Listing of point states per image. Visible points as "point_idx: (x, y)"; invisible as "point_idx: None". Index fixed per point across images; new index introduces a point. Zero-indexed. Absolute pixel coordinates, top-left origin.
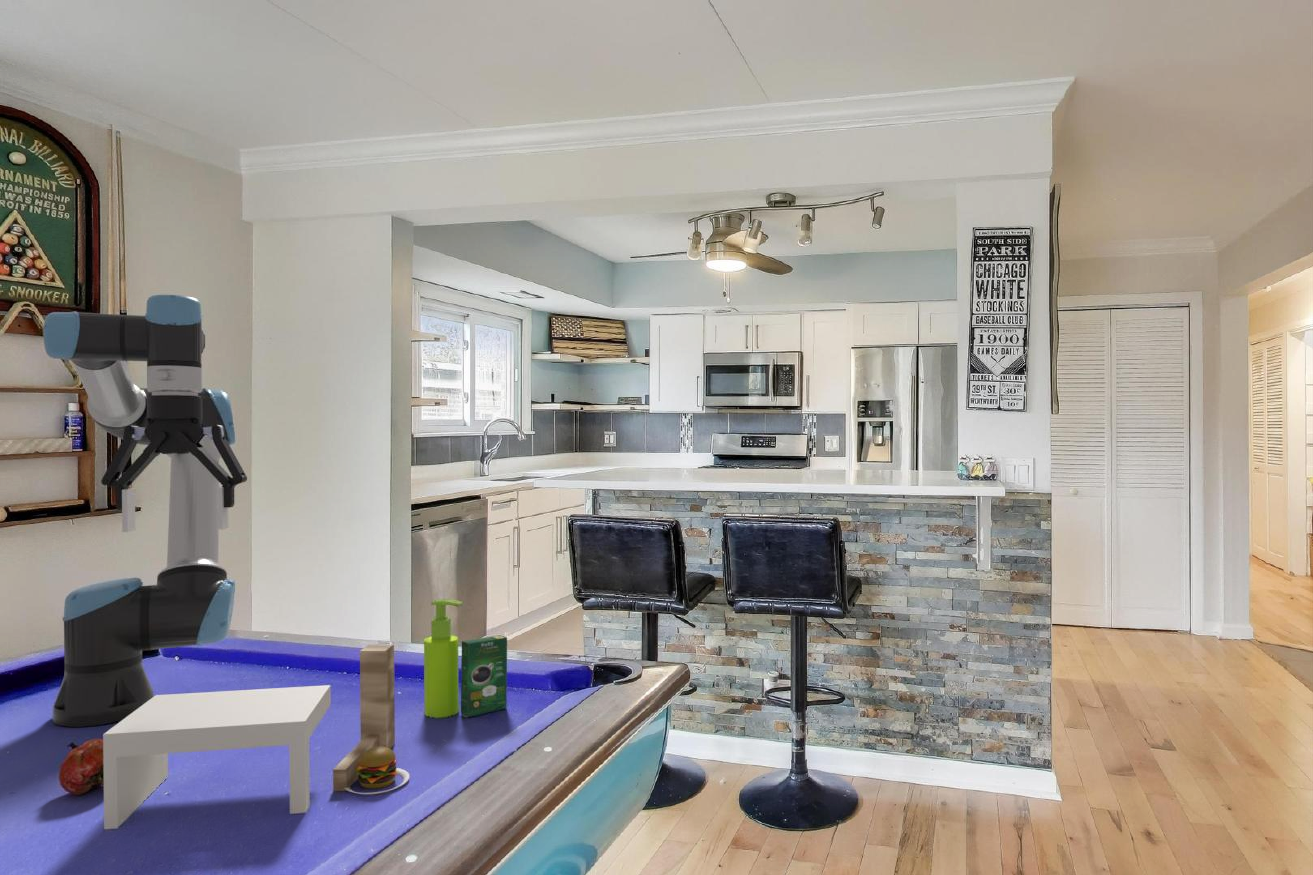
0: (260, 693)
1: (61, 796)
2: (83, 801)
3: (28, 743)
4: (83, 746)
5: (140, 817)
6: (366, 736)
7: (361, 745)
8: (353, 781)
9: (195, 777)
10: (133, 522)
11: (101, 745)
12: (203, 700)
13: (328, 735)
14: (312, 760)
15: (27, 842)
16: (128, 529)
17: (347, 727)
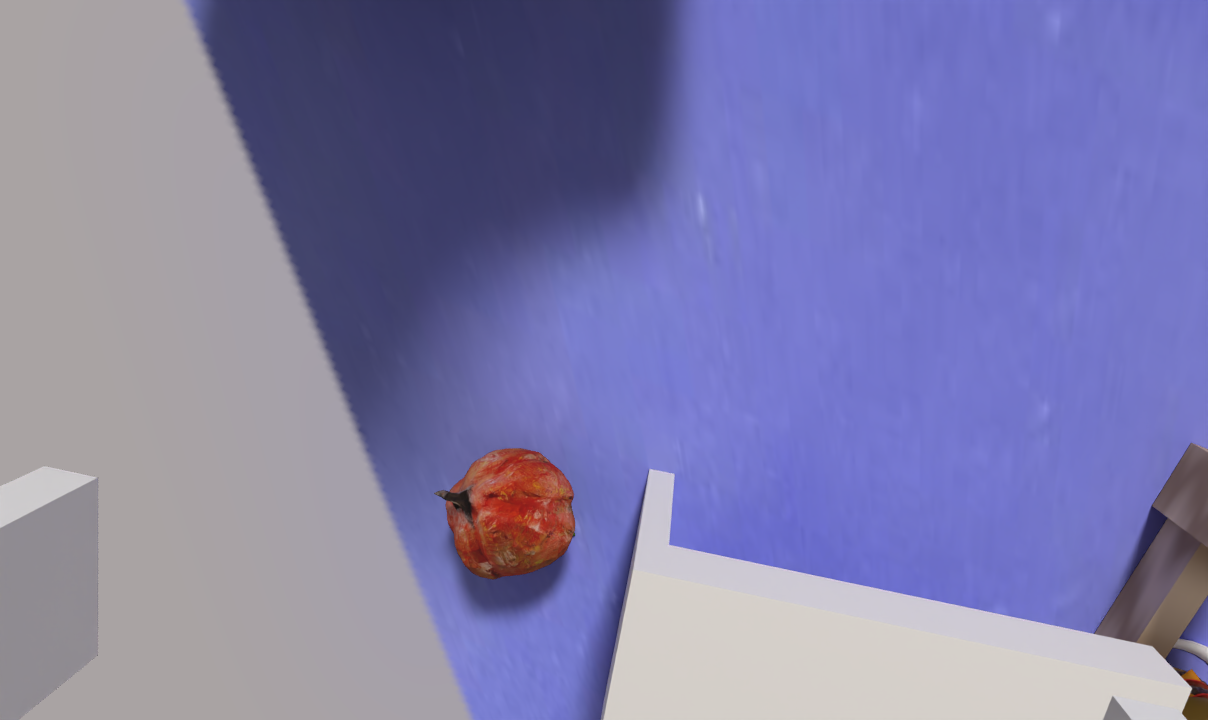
0: (955, 684)
1: None
2: None
3: (246, 57)
4: (484, 549)
5: None
6: (1197, 553)
7: (1169, 615)
8: None
9: (738, 500)
10: (21, 571)
11: (526, 560)
12: (785, 683)
13: (1083, 319)
14: (1019, 501)
15: (485, 693)
16: (79, 651)
17: (1152, 266)
